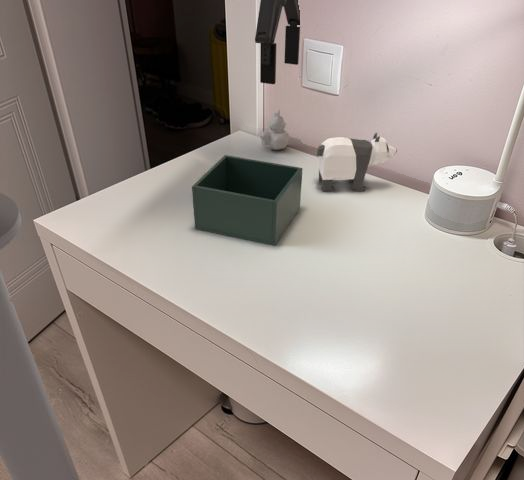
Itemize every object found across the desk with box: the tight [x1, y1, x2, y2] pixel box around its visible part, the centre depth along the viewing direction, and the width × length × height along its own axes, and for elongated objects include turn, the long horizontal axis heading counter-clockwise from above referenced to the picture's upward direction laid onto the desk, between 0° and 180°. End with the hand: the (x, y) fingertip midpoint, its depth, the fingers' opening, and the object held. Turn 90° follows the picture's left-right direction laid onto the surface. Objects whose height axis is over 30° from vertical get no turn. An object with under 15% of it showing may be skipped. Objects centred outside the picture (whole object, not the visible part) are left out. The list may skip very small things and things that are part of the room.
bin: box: [191, 154, 304, 246], centre depth 89 cm, size 14×13×8 cm
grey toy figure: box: [259, 110, 290, 151], centre depth 111 cm, size 5×7×8 cm
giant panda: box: [316, 132, 398, 192], centre depth 99 cm, size 15×6×10 cm, turn 95°
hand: (280, 73), depth 103 cm, fingers open, 13 cm apart
